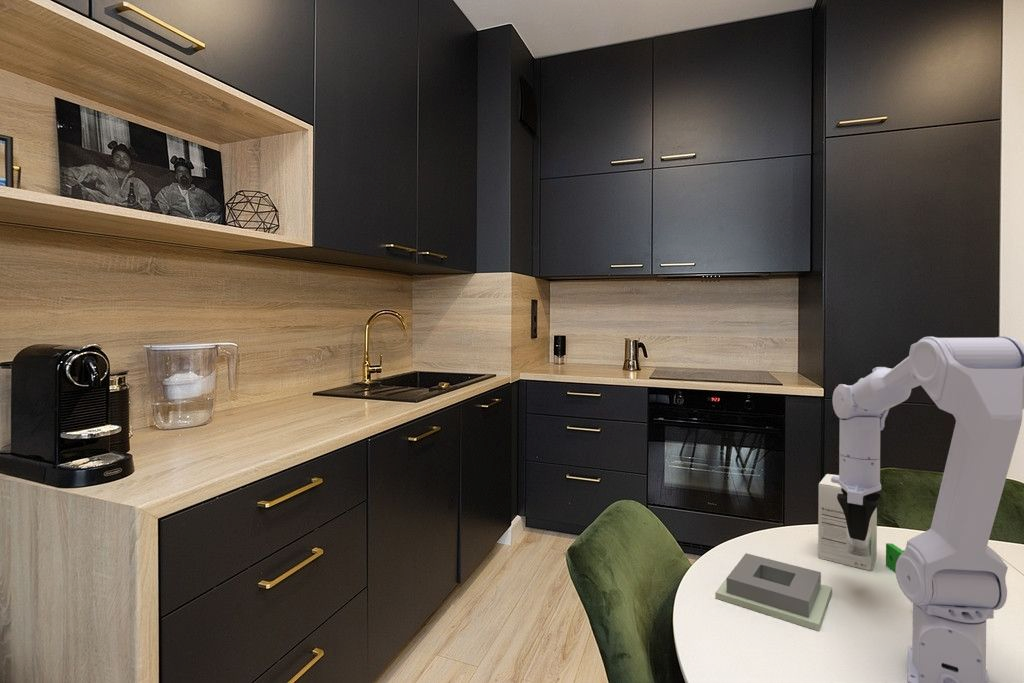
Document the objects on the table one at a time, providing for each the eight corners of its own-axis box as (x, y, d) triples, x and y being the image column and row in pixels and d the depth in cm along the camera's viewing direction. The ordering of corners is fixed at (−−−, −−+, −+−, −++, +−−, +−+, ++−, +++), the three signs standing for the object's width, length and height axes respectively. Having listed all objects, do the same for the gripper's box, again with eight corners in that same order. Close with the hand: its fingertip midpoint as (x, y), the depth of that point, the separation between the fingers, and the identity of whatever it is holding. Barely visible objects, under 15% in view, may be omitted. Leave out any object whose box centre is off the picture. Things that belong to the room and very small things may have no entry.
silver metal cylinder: (870, 558, 84) (870, 510, 84) (845, 552, 86) (845, 506, 86) (871, 551, 86) (872, 504, 86) (847, 546, 89) (847, 500, 89)
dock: (819, 631, 75) (819, 607, 75) (715, 598, 85) (715, 577, 85) (831, 592, 86) (832, 572, 86) (738, 567, 96) (738, 549, 96)
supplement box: (825, 543, 106) (825, 472, 106) (877, 555, 100) (878, 480, 100) (816, 558, 99) (817, 482, 99) (872, 572, 94) (872, 492, 93)
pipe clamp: (950, 599, 85) (951, 572, 84) (926, 598, 85) (926, 571, 85) (906, 567, 96) (907, 543, 96) (885, 566, 96) (885, 542, 96)
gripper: (837, 444, 94) (836, 517, 94) (825, 460, 83) (825, 542, 83) (884, 450, 90) (883, 526, 90) (878, 467, 78) (878, 554, 79)
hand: (858, 535), depth 86 cm, fingers closed on silver metal cylinder, 3 cm apart
